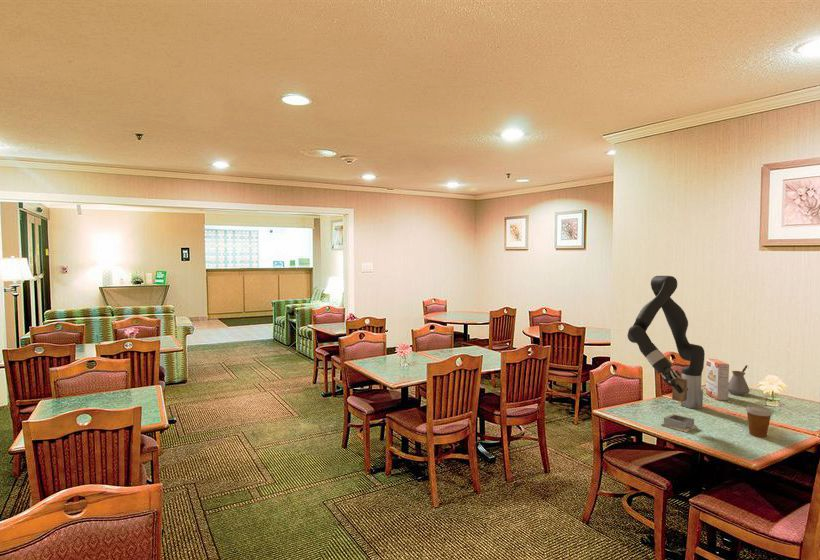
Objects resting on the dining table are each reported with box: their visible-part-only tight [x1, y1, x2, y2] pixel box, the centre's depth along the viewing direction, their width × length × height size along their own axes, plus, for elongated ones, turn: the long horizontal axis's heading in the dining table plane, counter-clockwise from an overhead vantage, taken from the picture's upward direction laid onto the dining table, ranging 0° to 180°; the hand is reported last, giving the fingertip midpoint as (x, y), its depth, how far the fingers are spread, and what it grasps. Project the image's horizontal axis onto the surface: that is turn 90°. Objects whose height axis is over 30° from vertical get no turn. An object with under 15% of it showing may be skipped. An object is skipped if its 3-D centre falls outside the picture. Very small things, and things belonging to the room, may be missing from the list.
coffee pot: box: [728, 364, 751, 396], centre depth 283 cm, size 21×12×15 cm, turn 129°
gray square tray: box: [661, 413, 698, 433], centre depth 223 cm, size 11×11×4 cm
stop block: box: [671, 377, 687, 403], centre depth 222 cm, size 4×4×10 cm
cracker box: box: [705, 358, 730, 402], centre depth 272 cm, size 14×6×21 cm, turn 172°
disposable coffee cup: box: [745, 405, 773, 438], centre depth 213 cm, size 10×10×12 cm
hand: (684, 391), depth 221 cm, fingers closed on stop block, 4 cm apart
